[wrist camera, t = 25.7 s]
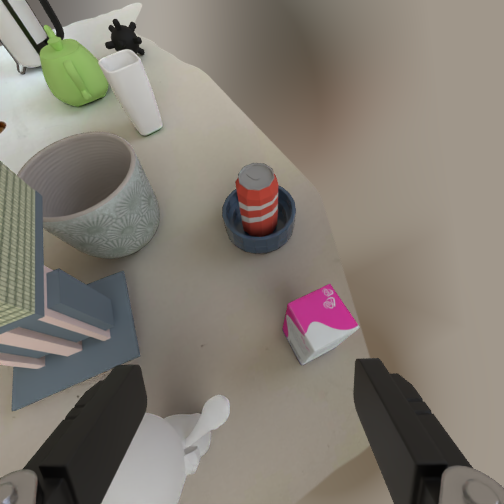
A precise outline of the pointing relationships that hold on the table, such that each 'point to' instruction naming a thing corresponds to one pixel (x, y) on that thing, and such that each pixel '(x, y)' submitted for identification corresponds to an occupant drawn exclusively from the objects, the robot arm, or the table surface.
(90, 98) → the teapot
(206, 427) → the figurine
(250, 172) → the beverage can
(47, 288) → the desk lamp
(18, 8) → the coffee press
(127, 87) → the cup
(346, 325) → the supplement box
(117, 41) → the toy ball
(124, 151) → the planter
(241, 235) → the bowl
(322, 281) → the table surface
